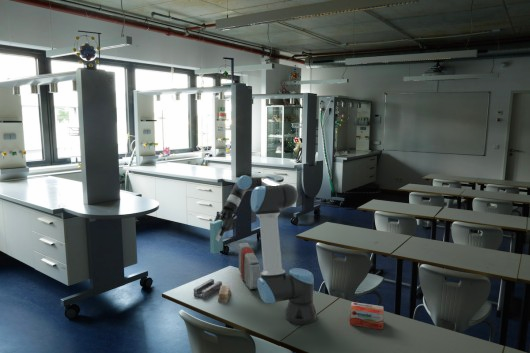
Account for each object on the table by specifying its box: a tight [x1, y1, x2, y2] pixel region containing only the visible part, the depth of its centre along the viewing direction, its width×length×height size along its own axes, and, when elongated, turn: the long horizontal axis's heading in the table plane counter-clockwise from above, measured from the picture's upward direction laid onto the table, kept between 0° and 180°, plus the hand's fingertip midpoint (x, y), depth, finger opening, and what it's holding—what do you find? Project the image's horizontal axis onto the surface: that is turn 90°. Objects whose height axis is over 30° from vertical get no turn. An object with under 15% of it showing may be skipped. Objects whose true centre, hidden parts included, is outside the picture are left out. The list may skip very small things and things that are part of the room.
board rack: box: [193, 278, 223, 300], centre depth 219 cm, size 8×15×4 cm, turn 149°
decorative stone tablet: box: [238, 242, 262, 290], centre depth 230 cm, size 19×6×30 cm
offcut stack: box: [217, 285, 232, 303], centre depth 214 cm, size 6×11×4 cm, turn 175°
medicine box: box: [349, 301, 385, 331], centre depth 189 cm, size 15×8×8 cm, turn 74°
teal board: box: [209, 220, 224, 255], centre depth 221 cm, size 2×8×17 cm, turn 149°
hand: (214, 239), depth 220 cm, fingers closed on teal board, 2 cm apart
